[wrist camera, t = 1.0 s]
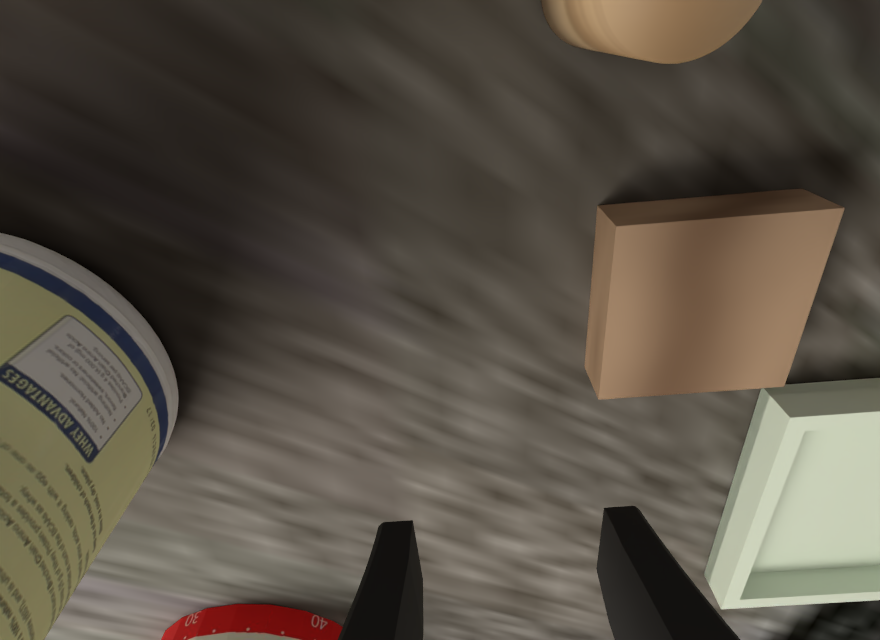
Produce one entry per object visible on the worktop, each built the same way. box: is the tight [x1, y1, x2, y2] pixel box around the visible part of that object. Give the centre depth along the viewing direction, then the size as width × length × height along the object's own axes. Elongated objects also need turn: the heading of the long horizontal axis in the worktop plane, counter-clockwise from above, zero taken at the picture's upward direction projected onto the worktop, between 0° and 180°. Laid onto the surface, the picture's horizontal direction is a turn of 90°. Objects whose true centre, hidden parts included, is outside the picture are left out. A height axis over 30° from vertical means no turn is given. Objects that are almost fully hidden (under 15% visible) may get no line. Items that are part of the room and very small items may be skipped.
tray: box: [704, 378, 880, 609], centre depth 24 cm, size 12×14×2 cm
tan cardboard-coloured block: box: [585, 188, 845, 399], centre depth 18 cm, size 7×7×2 cm
